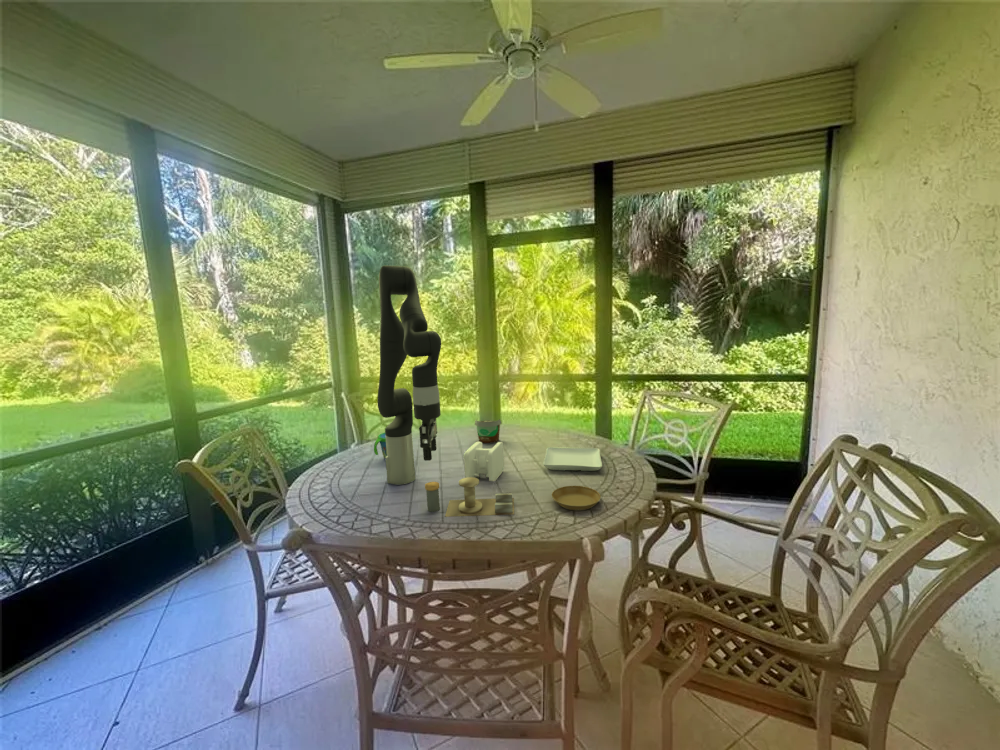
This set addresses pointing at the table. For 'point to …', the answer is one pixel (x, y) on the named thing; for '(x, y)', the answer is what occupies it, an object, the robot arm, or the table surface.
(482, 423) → the food container
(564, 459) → the salad plate
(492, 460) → the cable organizer
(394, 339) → the robot arm
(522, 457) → the table surface
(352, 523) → the table surface
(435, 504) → the spice jar
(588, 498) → the plant saucer
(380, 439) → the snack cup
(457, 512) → the winding board
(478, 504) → the bobbin
